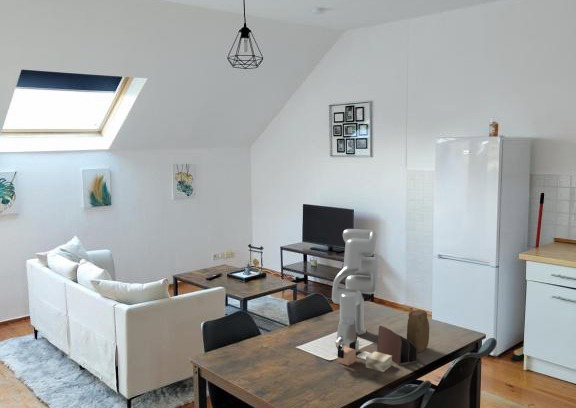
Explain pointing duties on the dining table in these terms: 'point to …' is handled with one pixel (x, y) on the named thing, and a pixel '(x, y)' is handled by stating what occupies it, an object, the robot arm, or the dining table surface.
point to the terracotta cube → (348, 356)
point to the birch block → (378, 361)
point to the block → (418, 329)
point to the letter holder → (396, 347)
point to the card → (363, 355)
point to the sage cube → (355, 344)
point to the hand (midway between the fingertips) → (346, 354)
